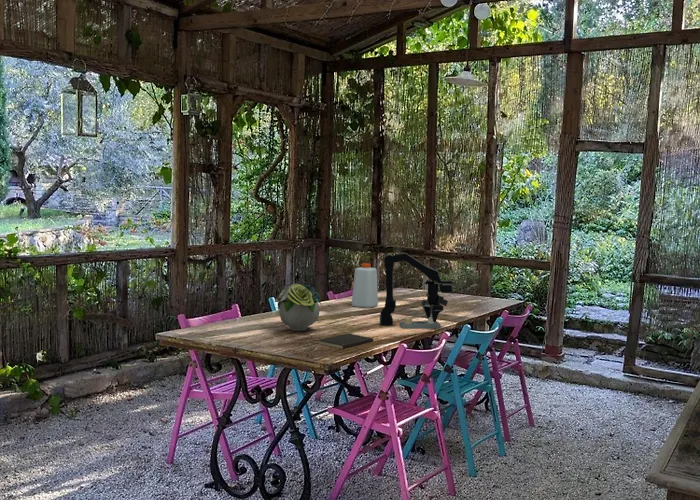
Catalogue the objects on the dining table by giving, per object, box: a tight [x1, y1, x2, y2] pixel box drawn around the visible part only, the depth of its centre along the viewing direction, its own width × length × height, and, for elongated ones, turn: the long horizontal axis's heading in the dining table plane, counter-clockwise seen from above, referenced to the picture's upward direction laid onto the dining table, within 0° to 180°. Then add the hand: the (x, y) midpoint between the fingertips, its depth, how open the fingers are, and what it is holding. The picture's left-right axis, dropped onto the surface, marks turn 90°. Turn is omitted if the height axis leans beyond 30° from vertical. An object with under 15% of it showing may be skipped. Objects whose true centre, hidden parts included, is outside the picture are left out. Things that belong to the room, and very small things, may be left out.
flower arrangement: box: [274, 282, 322, 332], centre depth 338 cm, size 25×25×24 cm
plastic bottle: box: [351, 262, 379, 309], centre depth 422 cm, size 15×15×28 cm
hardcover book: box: [317, 332, 374, 350], centre depth 311 cm, size 16×23×2 cm
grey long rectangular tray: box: [398, 320, 441, 330], centre depth 351 cm, size 21×8×4 cm, turn 103°
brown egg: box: [403, 316, 413, 324], centre depth 349 cm, size 4×4×6 cm
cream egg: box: [427, 316, 436, 323], centre depth 352 cm, size 4×4×6 cm
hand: (431, 320), depth 352 cm, fingers open, 9 cm apart
